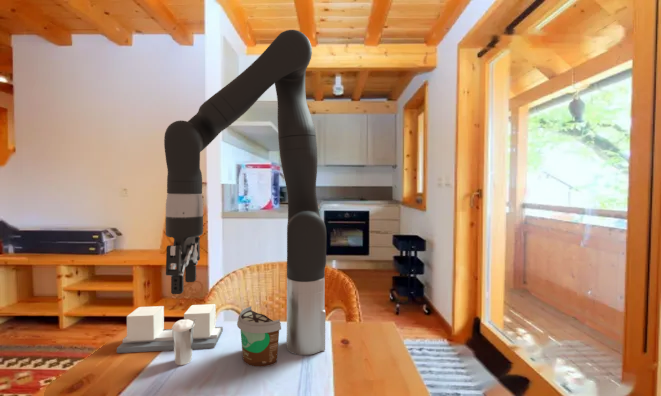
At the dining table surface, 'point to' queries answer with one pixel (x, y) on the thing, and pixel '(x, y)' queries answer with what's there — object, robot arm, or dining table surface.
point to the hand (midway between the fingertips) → (184, 287)
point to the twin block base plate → (152, 336)
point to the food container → (258, 338)
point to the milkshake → (183, 341)
